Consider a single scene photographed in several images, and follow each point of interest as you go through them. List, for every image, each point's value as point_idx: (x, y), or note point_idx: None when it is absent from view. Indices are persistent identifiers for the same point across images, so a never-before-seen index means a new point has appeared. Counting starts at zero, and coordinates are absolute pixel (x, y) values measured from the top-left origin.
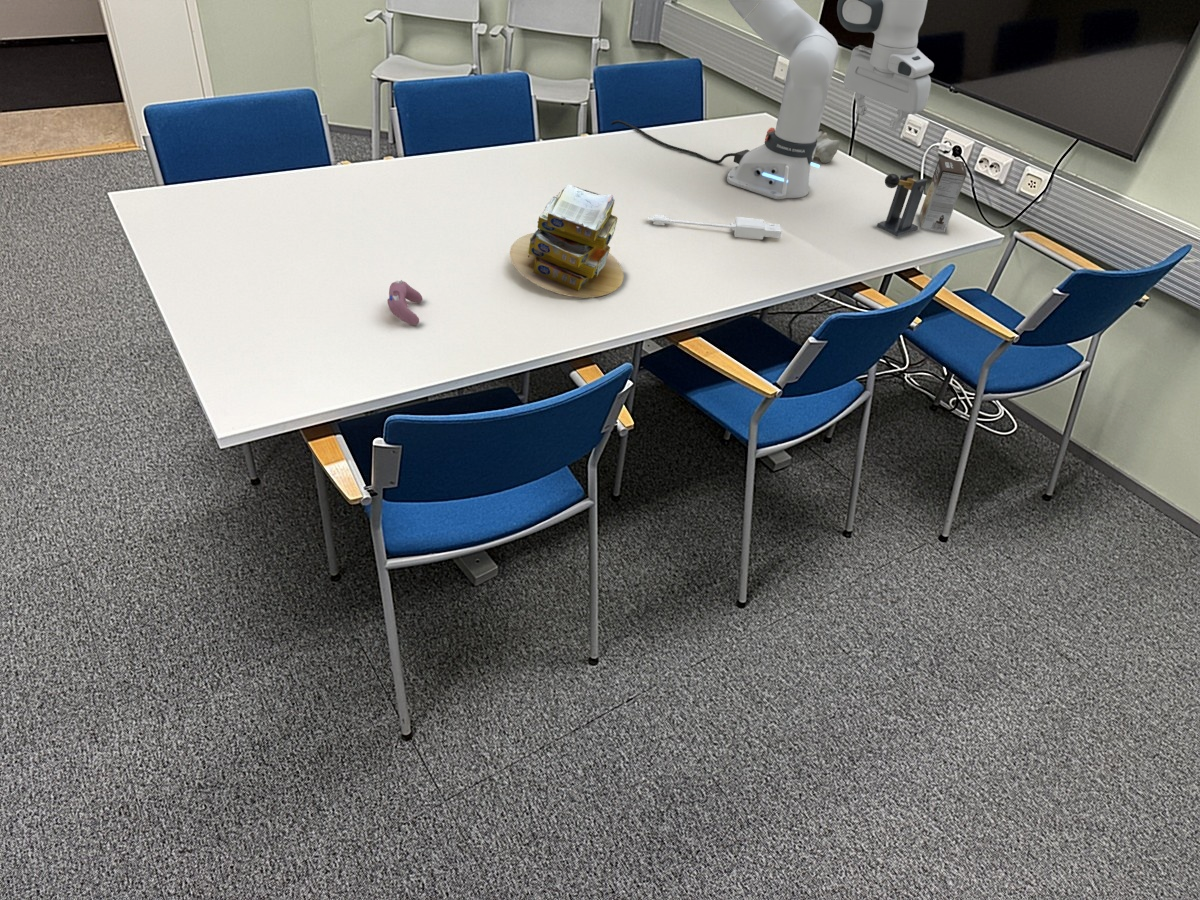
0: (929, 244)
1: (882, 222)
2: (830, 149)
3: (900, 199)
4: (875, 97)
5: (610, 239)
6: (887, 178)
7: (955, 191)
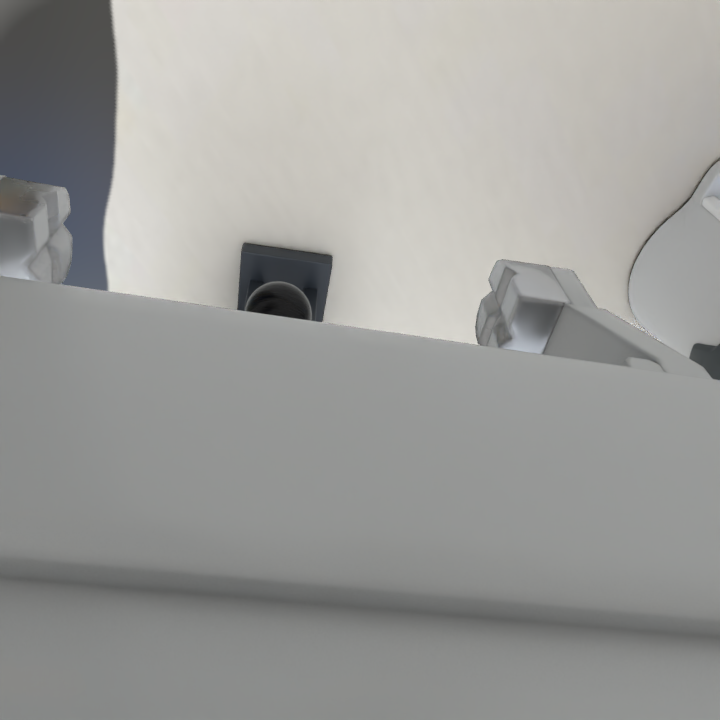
0: (152, 286)
1: (324, 283)
2: None
3: None
4: (335, 340)
5: None
6: (291, 300)
7: None
